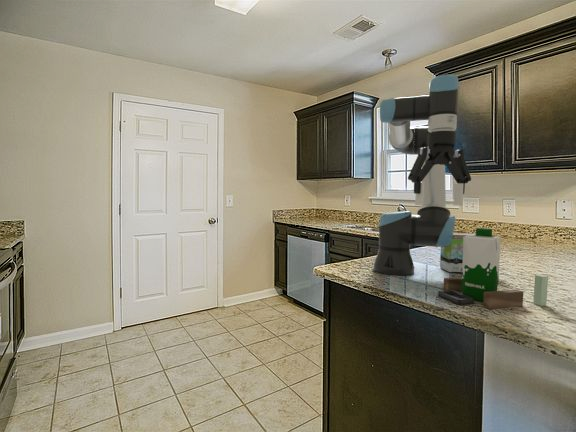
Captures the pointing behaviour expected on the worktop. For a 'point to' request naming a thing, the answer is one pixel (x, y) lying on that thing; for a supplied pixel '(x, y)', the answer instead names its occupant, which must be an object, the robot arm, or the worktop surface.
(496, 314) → the worktop surface
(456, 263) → the tea box
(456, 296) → the pit tray
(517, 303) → the channel
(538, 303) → the gate
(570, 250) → the worktop surface
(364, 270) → the worktop surface
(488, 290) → the soya milk
